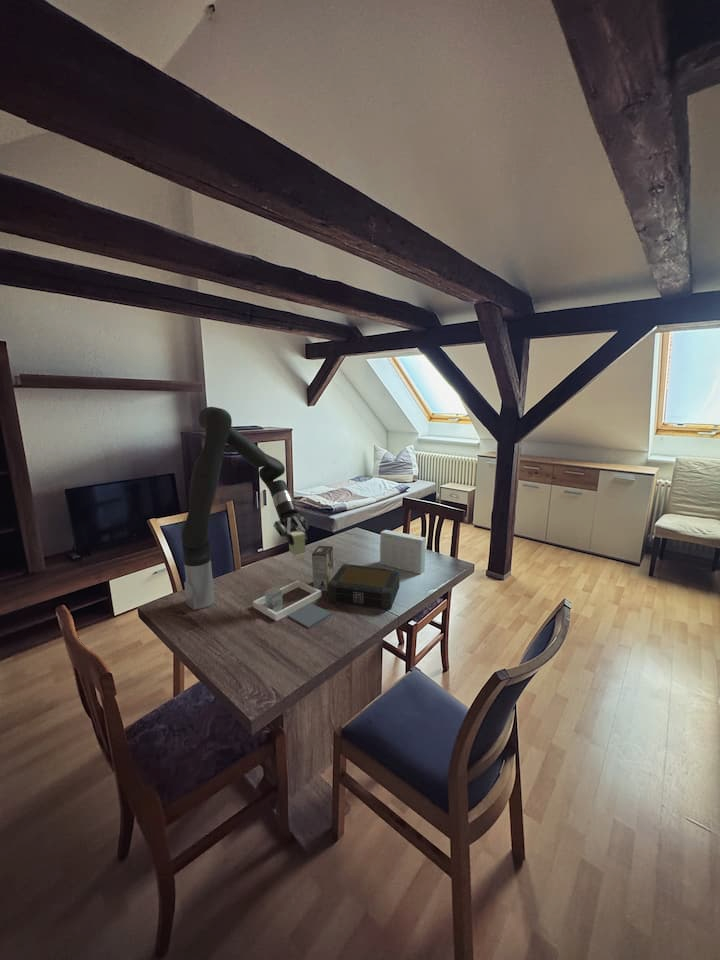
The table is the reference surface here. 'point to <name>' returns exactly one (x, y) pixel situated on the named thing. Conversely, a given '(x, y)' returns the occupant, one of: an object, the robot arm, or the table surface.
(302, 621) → the charcoal mat
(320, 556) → the coffee box
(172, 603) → the table surface
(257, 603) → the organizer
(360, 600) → the cash box
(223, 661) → the table surface
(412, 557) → the skincare box
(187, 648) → the table surface
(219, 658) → the table surface
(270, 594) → the grey tin
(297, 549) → the olive tin
